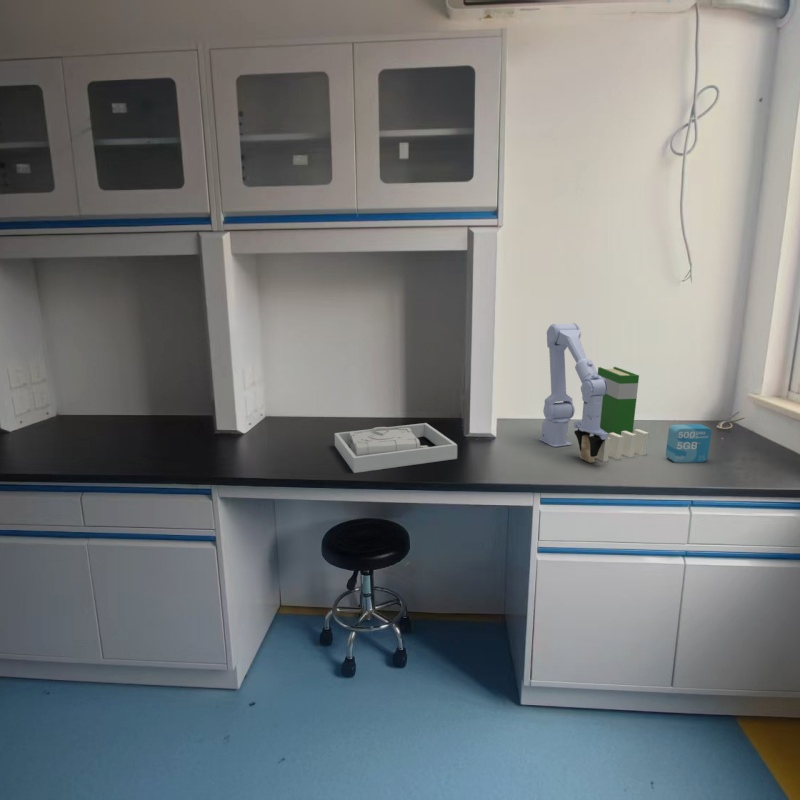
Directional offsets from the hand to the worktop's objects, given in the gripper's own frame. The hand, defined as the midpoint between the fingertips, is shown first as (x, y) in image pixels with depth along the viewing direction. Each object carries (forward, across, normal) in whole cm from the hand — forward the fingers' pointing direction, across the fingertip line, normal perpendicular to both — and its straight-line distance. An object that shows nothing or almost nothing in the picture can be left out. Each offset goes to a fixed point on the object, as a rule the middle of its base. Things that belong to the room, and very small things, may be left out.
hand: (588, 453), depth 172 cm
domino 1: (+2, 0, 0) cm, 2 cm away
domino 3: (+3, 0, +11) cm, 11 cm away
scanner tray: (+3, -31, -58) cm, 66 cm away
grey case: (+3, -33, -59) cm, 68 cm away
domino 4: (+3, 0, +16) cm, 17 cm away
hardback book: (+3, -25, +32) cm, 41 cm away
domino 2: (+3, 0, +6) cm, 6 cm away
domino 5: (+3, 0, +22) cm, 22 cm away
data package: (+3, +11, +32) cm, 33 cm away
